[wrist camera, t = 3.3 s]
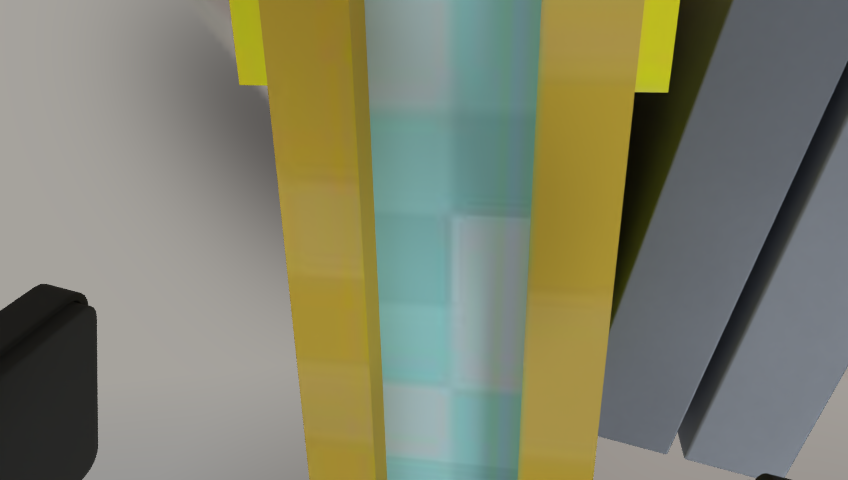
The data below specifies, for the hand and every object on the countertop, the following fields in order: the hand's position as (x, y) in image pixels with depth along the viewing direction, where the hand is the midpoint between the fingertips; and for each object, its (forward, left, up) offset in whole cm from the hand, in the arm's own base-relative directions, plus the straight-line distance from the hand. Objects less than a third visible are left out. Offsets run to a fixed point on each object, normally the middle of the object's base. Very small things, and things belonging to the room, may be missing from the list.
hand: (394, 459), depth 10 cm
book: (0, 0, -28) cm, 28 cm away
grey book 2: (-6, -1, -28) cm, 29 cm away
